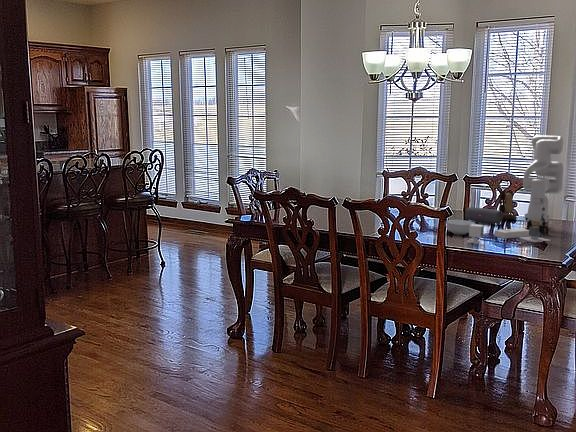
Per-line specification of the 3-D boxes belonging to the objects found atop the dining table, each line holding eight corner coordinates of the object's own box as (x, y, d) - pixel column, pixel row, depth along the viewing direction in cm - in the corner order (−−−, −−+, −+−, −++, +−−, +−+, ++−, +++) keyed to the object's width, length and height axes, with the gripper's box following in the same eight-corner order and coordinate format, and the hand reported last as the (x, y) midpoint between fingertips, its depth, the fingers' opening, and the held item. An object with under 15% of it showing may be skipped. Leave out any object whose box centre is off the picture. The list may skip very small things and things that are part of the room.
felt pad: (535, 237, 346) (535, 236, 346) (550, 241, 335) (551, 240, 335) (518, 238, 342) (518, 237, 341) (534, 242, 330) (534, 241, 330)
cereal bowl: (454, 236, 347) (455, 224, 346) (439, 231, 363) (440, 220, 361) (480, 235, 351) (480, 223, 350) (464, 230, 367) (465, 219, 366)
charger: (535, 237, 341) (536, 226, 340) (540, 239, 337) (541, 227, 336) (528, 238, 339) (529, 226, 338) (533, 239, 335) (534, 227, 334)
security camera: (479, 244, 324) (480, 226, 322) (467, 243, 328) (467, 225, 326) (482, 242, 329) (483, 224, 328) (470, 241, 333) (471, 223, 331)
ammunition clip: (548, 234, 356) (549, 214, 354) (548, 234, 354) (549, 214, 352) (528, 233, 359) (530, 213, 358) (528, 233, 358) (530, 213, 356)
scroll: (504, 222, 400) (506, 192, 397) (489, 218, 413) (490, 190, 410) (521, 220, 405) (523, 191, 402) (505, 217, 419) (507, 189, 416)
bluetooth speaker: (464, 221, 399) (464, 207, 398) (471, 220, 406) (472, 205, 404) (495, 226, 383) (496, 210, 381) (502, 224, 389) (503, 209, 388)
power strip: (526, 233, 357) (527, 226, 357) (536, 235, 350) (537, 229, 349) (494, 236, 349) (494, 229, 348) (503, 238, 341) (504, 231, 341)
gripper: (554, 202, 328) (552, 233, 331) (531, 199, 344) (529, 228, 347) (543, 203, 325) (541, 234, 328) (521, 199, 341) (519, 228, 344)
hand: (535, 231), depth 337 cm, fingers open, 9 cm apart
